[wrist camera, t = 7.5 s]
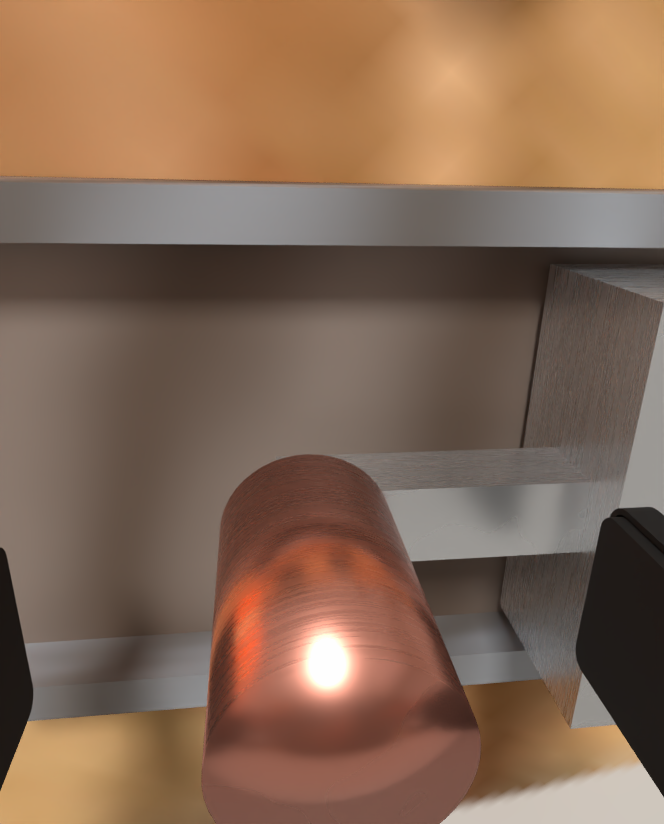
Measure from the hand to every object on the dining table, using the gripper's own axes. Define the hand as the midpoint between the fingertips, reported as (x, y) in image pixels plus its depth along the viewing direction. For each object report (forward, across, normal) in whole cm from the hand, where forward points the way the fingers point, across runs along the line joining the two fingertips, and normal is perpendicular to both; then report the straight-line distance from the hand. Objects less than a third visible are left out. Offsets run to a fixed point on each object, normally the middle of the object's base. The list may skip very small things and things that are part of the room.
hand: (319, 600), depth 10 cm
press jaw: (+5, -3, 0) cm, 6 cm away
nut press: (+7, -4, 0) cm, 8 cm away
